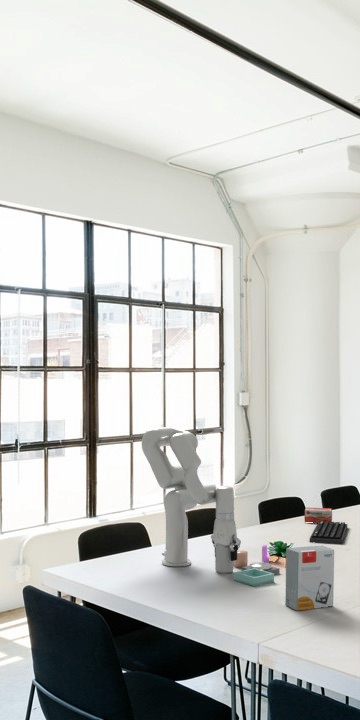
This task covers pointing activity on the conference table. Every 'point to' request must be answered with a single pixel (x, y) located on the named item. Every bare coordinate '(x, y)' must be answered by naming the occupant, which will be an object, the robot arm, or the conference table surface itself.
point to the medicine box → (318, 515)
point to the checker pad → (260, 566)
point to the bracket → (265, 553)
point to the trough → (254, 577)
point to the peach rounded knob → (241, 559)
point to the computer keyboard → (329, 532)
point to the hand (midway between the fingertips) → (225, 558)
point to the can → (223, 559)
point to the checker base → (272, 570)
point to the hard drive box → (309, 577)
